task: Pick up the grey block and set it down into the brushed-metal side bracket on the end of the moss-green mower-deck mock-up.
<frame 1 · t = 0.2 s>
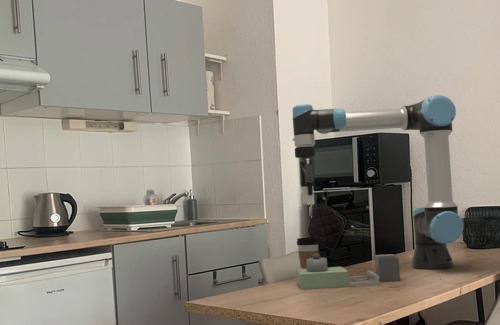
hand: (308, 204, 207), 28 cm above the table, fingers open, 13 cm apart
deck: (322, 285, 193), on the table
chute bracket: (358, 282, 193), on the table
coffee cup: (310, 277, 212), on the table
grey block: (388, 280, 194), on the table
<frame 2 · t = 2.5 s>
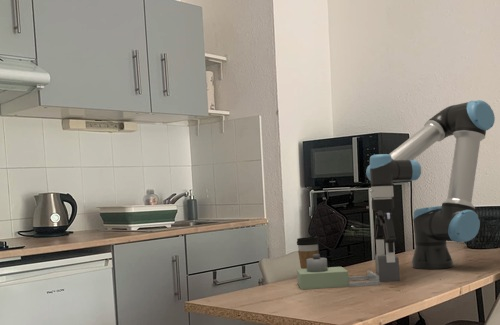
hand: (385, 260, 194), 7 cm above the table, fingers open, 13 cm apart
nothing on the table moved.
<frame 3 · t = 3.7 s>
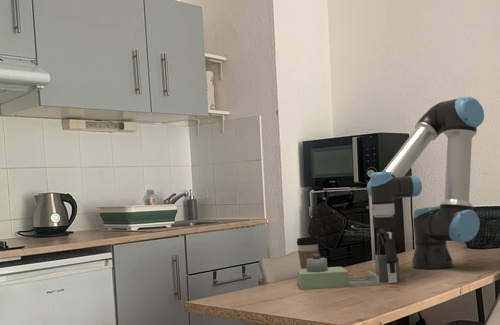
hand: (388, 279, 194), 0 cm above the table, fingers open, 11 cm apart
nothing on the table moved.
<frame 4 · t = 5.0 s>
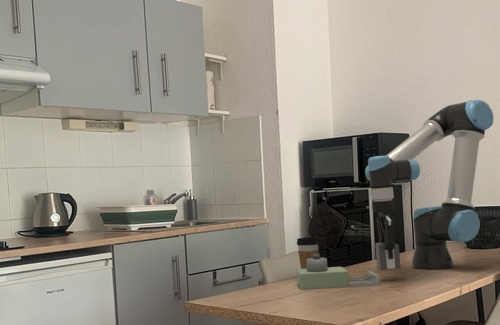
hand: (389, 267, 195), 5 cm above the table, fingers closed on grey block, 4 cm apart
grey block: (388, 268, 195), point 4 cm above the table, touching gripper
everything else where it was.
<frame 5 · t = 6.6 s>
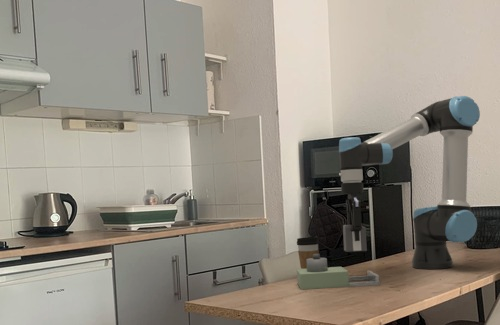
hand: (355, 249, 194), 11 cm above the table, fingers closed on grey block, 4 cm apart
grey block: (355, 250, 194), point 11 cm above the table, touching gripper
everything else where it was.
when the fingers open (1 cm above the table, at t = 8.1 s): grey block stays where it is, on the table.
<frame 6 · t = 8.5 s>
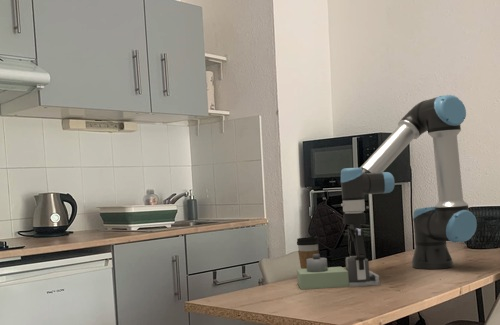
hand: (358, 276, 193), 2 cm above the table, fingers open, 10 cm apart
grey block: (358, 283, 193), on the table
everything else where it was.
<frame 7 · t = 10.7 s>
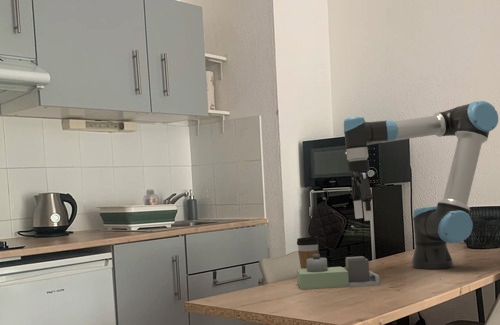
hand: (363, 219, 201), 21 cm above the table, fingers open, 13 cm apart
nothing on the table moved.
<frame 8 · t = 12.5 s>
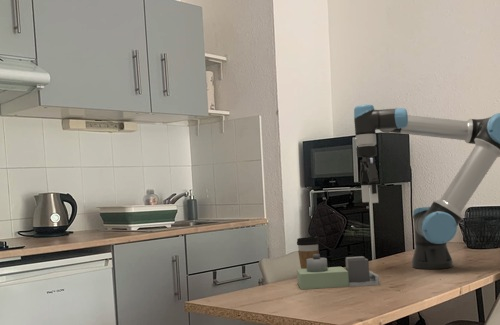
hand: (370, 202, 211), 27 cm above the table, fingers open, 13 cm apart
nothing on the table moved.
at the end: grey block 0.2 cm from the target spot, on the table; grey block tilted 0°; the gripper is holding nothing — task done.
